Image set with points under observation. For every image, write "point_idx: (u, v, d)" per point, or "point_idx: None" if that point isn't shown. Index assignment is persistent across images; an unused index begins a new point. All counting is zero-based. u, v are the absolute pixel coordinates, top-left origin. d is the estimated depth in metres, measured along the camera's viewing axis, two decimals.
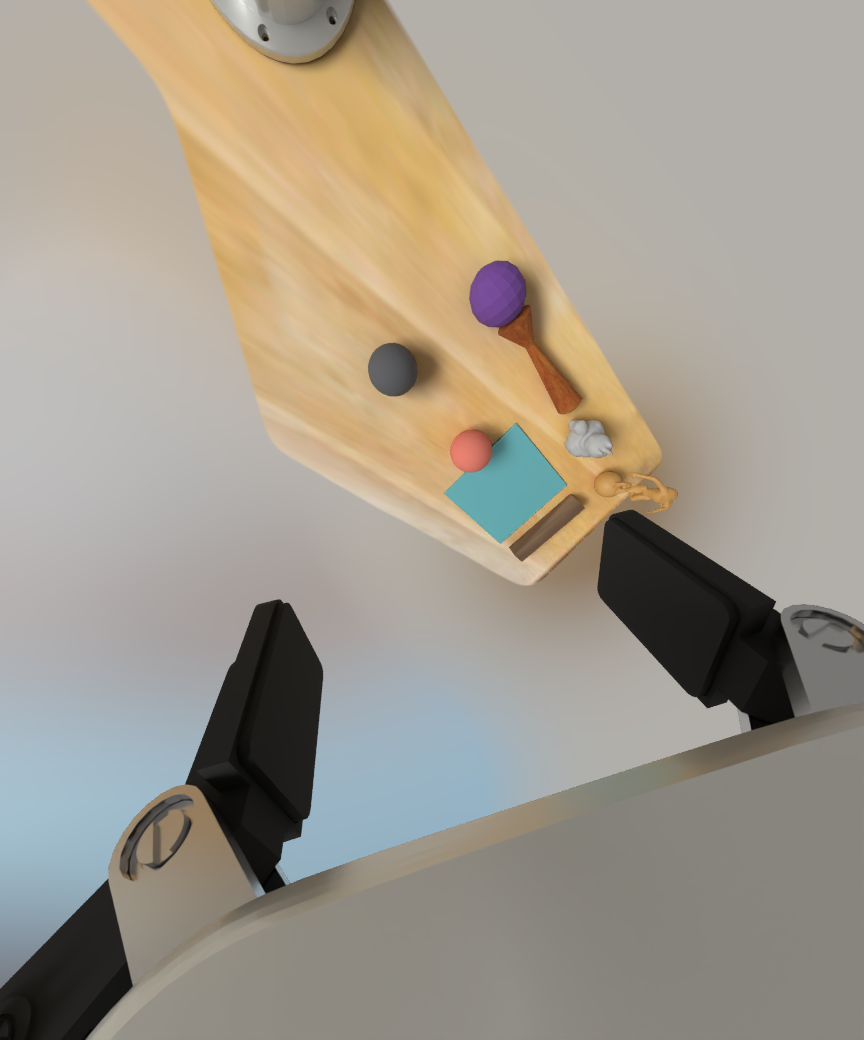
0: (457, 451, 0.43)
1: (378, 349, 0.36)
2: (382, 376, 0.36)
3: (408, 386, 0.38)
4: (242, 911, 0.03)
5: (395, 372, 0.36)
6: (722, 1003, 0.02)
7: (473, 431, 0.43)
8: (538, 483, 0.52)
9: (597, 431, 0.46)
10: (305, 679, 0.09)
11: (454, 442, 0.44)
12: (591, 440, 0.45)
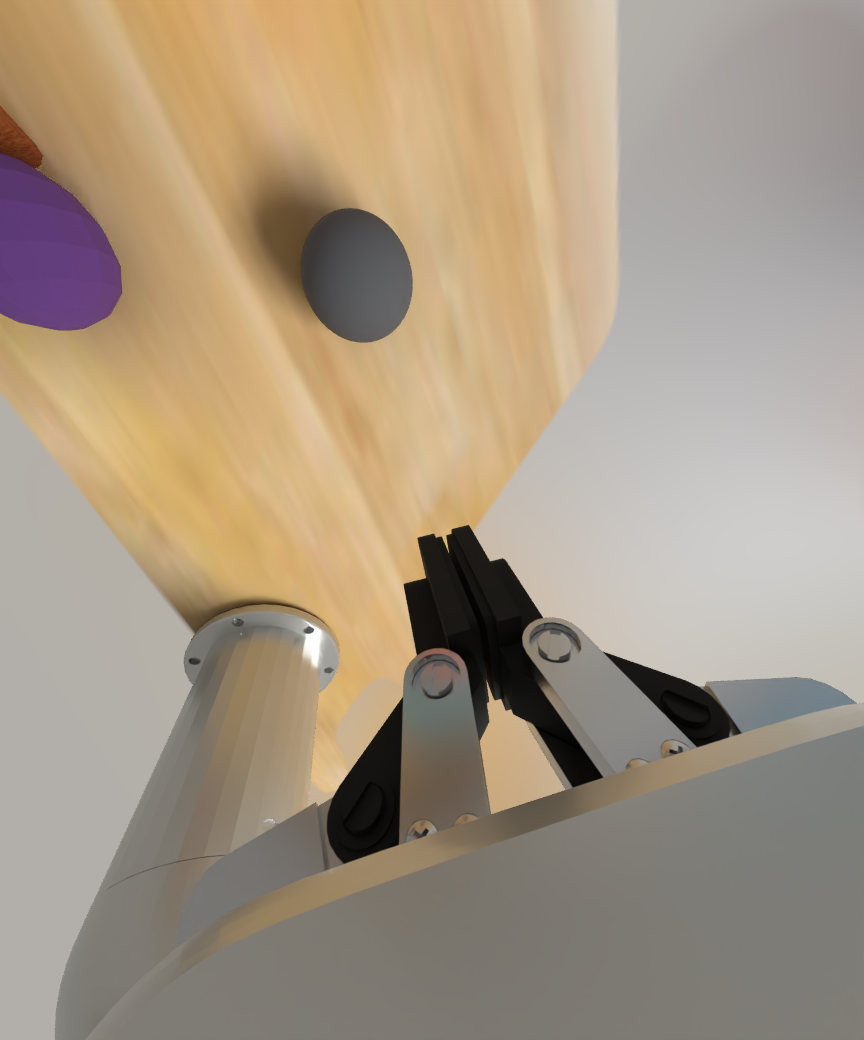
0: None
1: (363, 340, 0.18)
2: (388, 288, 0.16)
3: (346, 218, 0.15)
4: (242, 911, 0.03)
5: (358, 273, 0.15)
6: (721, 1003, 0.02)
7: None
8: None
9: None
10: None
11: None
12: None
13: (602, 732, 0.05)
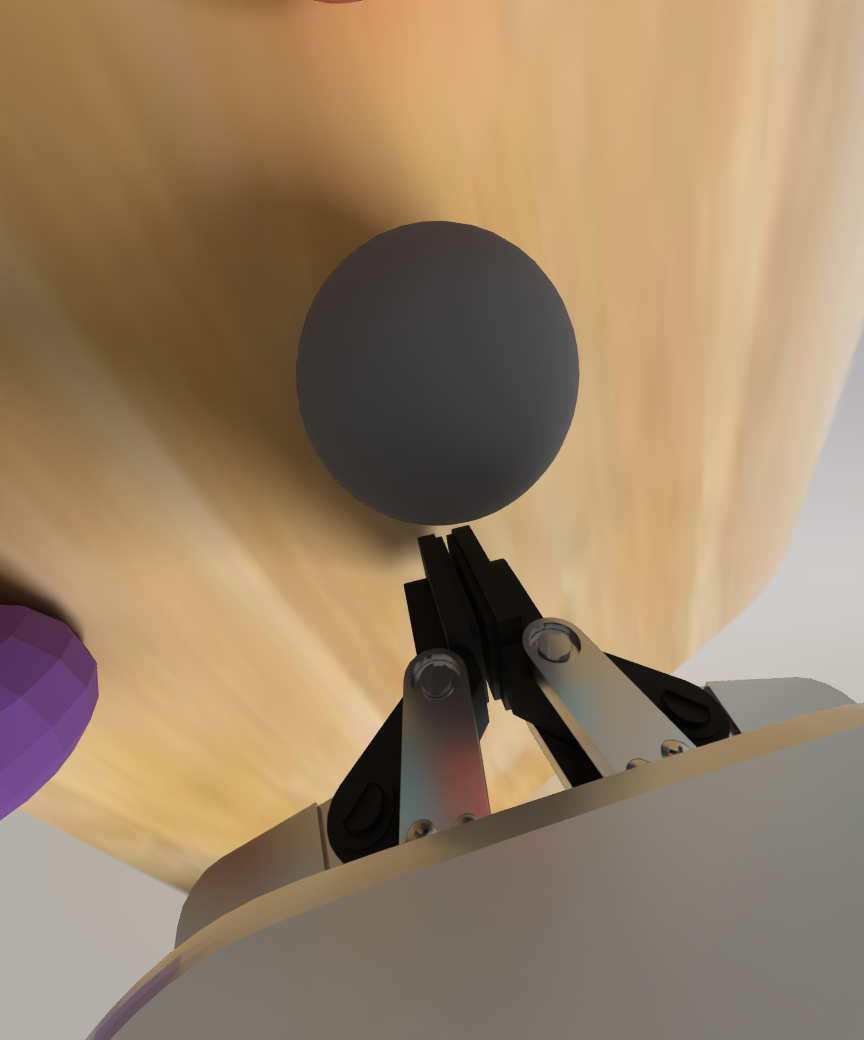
0: None
1: None
2: None
3: None
4: (242, 911, 0.03)
5: None
6: (721, 1002, 0.02)
7: None
8: None
9: None
10: None
11: None
12: None
13: (602, 732, 0.05)
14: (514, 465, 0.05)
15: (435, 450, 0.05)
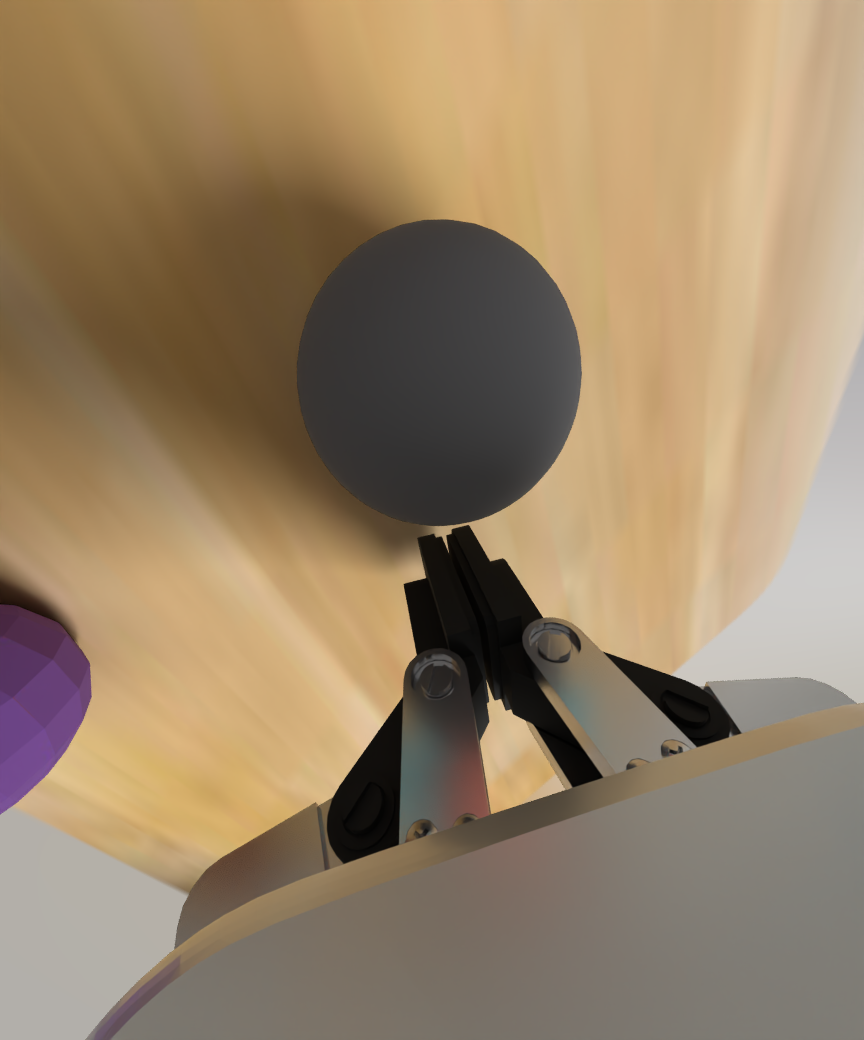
0: None
1: None
2: None
3: None
4: (242, 911, 0.03)
5: None
6: (722, 1003, 0.02)
7: None
8: None
9: None
10: None
11: None
12: None
13: (602, 732, 0.05)
14: (516, 465, 0.05)
15: (437, 449, 0.05)
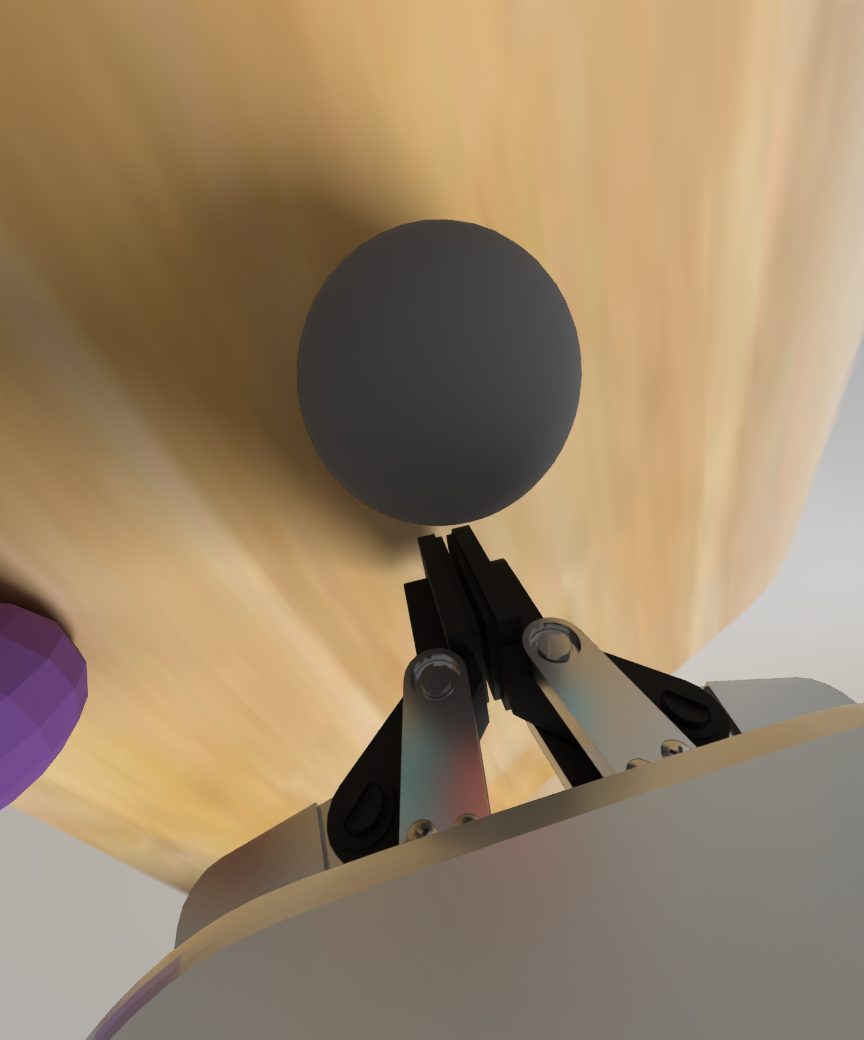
0: None
1: None
2: None
3: None
4: (242, 911, 0.03)
5: None
6: (722, 1003, 0.02)
7: None
8: None
9: None
10: None
11: None
12: None
13: (602, 732, 0.05)
14: (516, 465, 0.05)
15: (437, 449, 0.05)
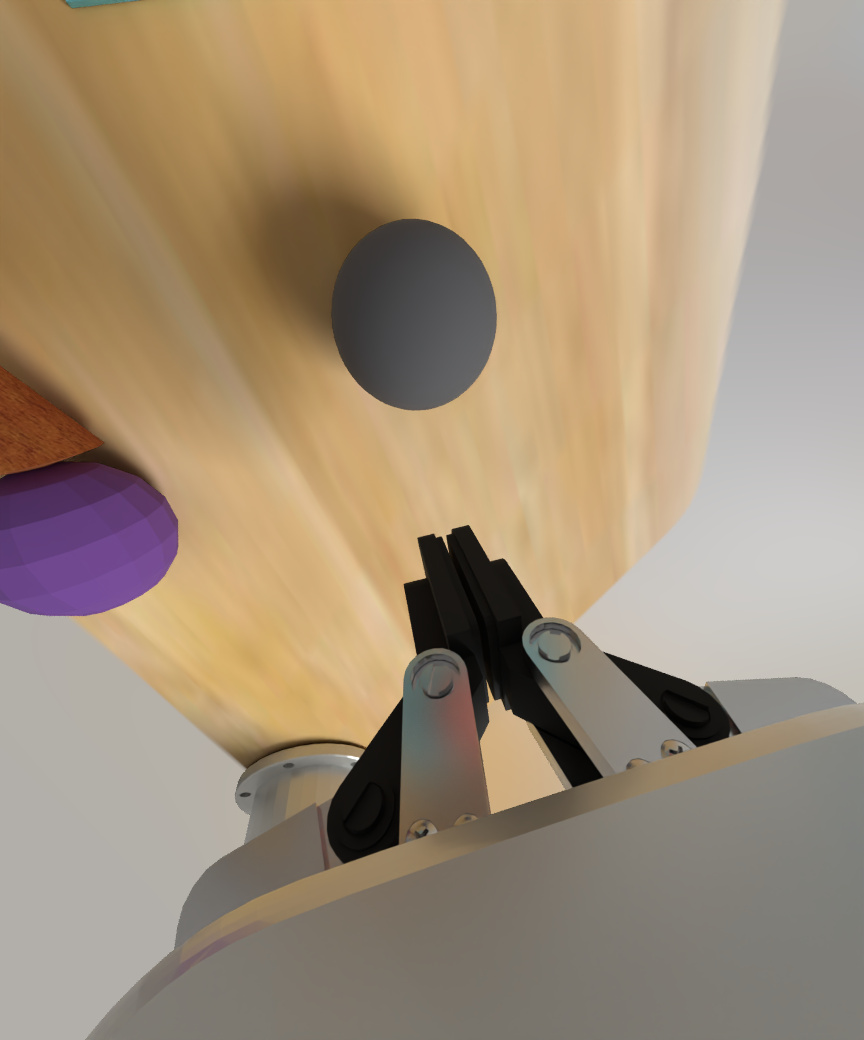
0: None
1: None
2: None
3: None
4: (242, 910, 0.03)
5: None
6: (721, 1002, 0.02)
7: None
8: None
9: None
10: None
11: None
12: None
13: (602, 732, 0.05)
14: (452, 357, 0.10)
15: (407, 343, 0.09)
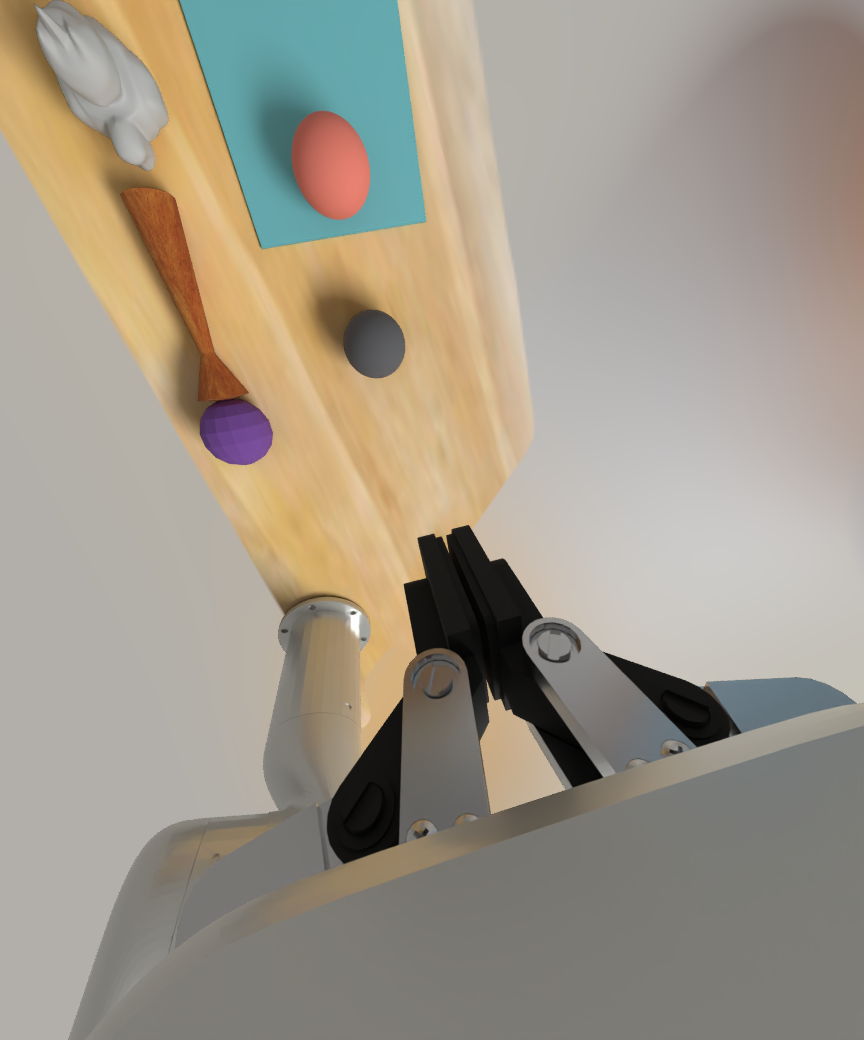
0: (338, 115, 0.23)
1: (363, 311, 0.29)
2: None
3: None
4: (242, 911, 0.03)
5: None
6: (722, 1003, 0.02)
7: (295, 137, 0.23)
8: (244, 53, 0.23)
9: (80, 94, 0.21)
10: None
11: (332, 118, 0.22)
12: (101, 93, 0.20)
13: (602, 732, 0.05)
14: (385, 355, 0.29)
15: (369, 351, 0.29)
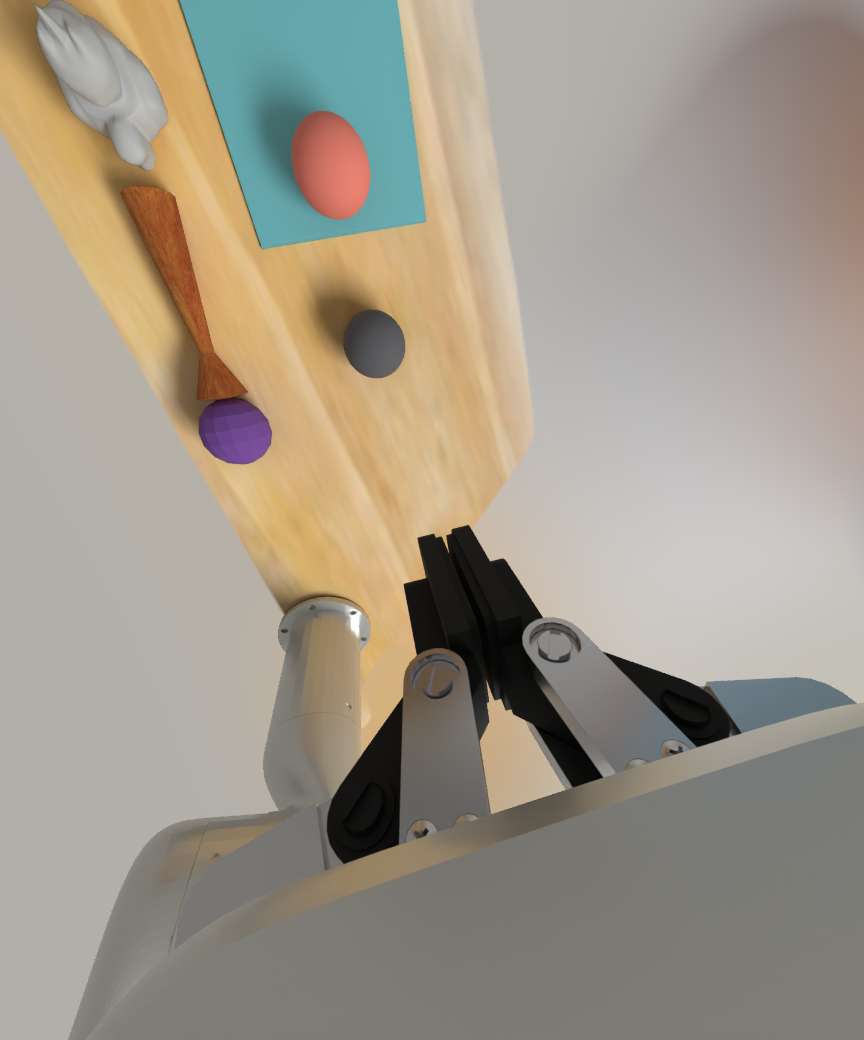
0: None
1: (363, 311, 0.29)
2: None
3: None
4: (242, 911, 0.03)
5: None
6: (722, 1003, 0.02)
7: (295, 137, 0.23)
8: (244, 53, 0.23)
9: (80, 94, 0.21)
10: None
11: (332, 118, 0.22)
12: (101, 93, 0.20)
13: (602, 732, 0.05)
14: (385, 355, 0.29)
15: (369, 351, 0.29)
